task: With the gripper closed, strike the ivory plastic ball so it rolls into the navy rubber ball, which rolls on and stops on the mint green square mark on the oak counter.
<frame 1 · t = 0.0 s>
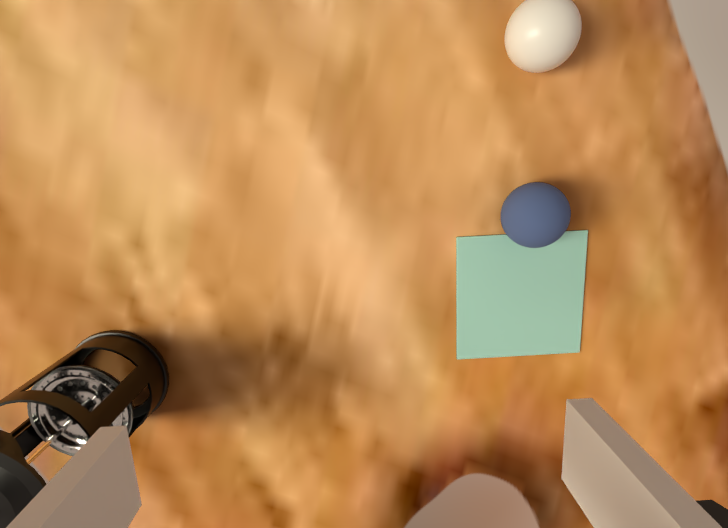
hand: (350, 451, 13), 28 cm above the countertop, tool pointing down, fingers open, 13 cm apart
object ball: (534, 215, 37), on the countertop
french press: (116, 377, 43), on the countertop
cue ball: (541, 33, 34), on the countertop
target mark: (519, 296, 42), on the countertop
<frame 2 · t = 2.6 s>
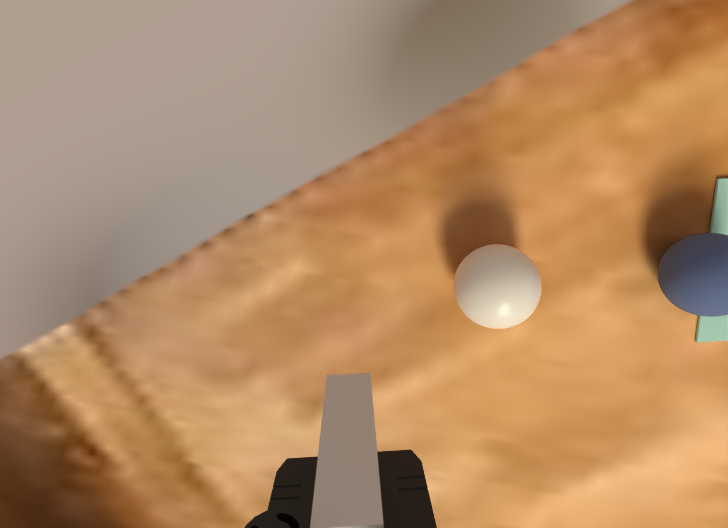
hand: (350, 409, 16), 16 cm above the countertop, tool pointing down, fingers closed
object ball: (707, 274, 29), on the countertop
cue ball: (496, 286, 29), on the countertop
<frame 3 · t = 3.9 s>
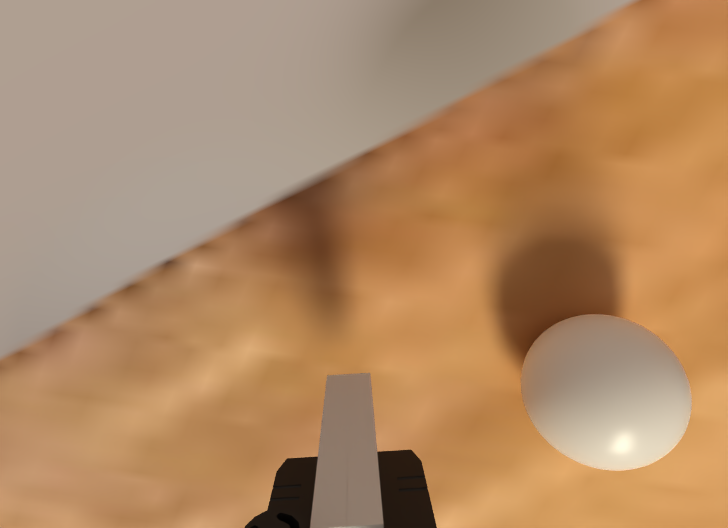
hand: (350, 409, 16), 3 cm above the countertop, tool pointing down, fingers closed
cue ball: (599, 388, 16), on the countertop
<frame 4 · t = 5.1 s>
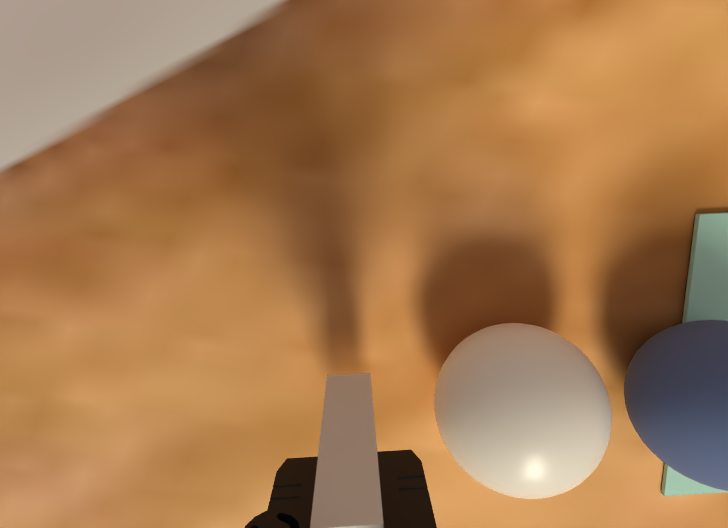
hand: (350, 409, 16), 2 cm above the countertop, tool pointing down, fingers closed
object ball: (718, 401, 15), on the countertop
cue ball: (517, 405, 15), on the countertop
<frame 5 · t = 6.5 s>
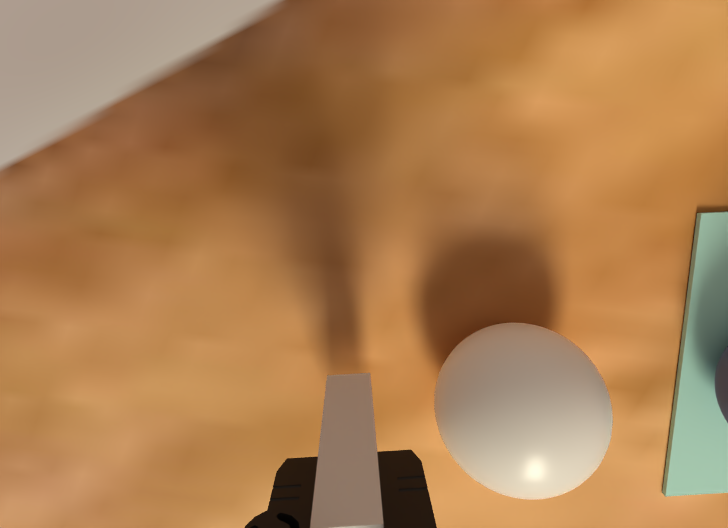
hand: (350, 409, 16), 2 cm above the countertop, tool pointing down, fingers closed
cue ball: (517, 405, 15), on the countertop
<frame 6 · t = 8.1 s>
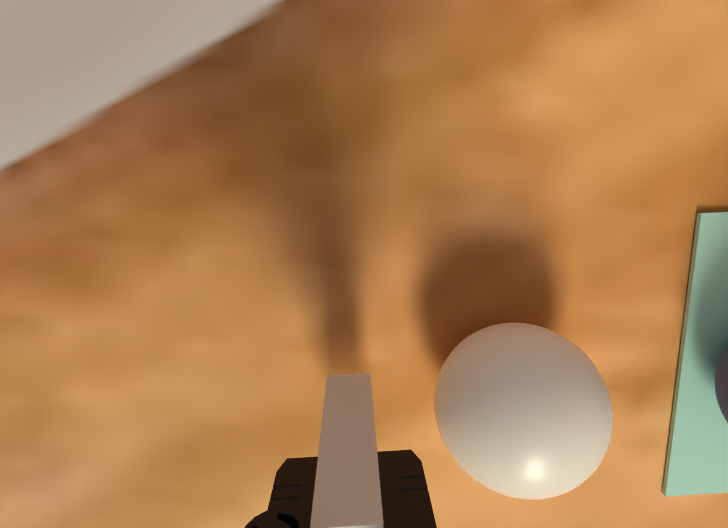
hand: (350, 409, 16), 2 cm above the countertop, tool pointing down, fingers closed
cue ball: (517, 405, 15), on the countertop
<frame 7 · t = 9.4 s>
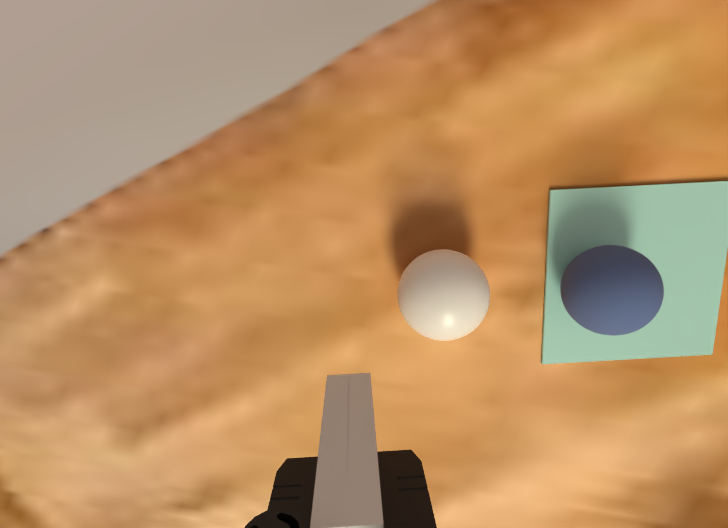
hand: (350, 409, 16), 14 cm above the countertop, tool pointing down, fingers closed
object ball: (609, 289, 27), on the countertop
cue ball: (442, 294, 27), on the countertop
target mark: (633, 275, 30), on the countertop
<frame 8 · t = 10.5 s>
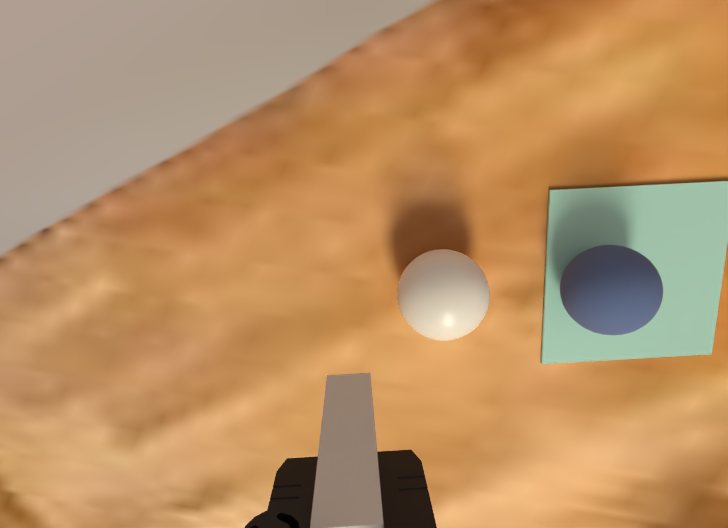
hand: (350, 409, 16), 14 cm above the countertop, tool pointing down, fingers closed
object ball: (608, 289, 27), on the countertop
cue ball: (442, 294, 27), on the countertop
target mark: (633, 275, 30), on the countertop
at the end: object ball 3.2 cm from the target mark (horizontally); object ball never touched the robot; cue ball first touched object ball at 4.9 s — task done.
